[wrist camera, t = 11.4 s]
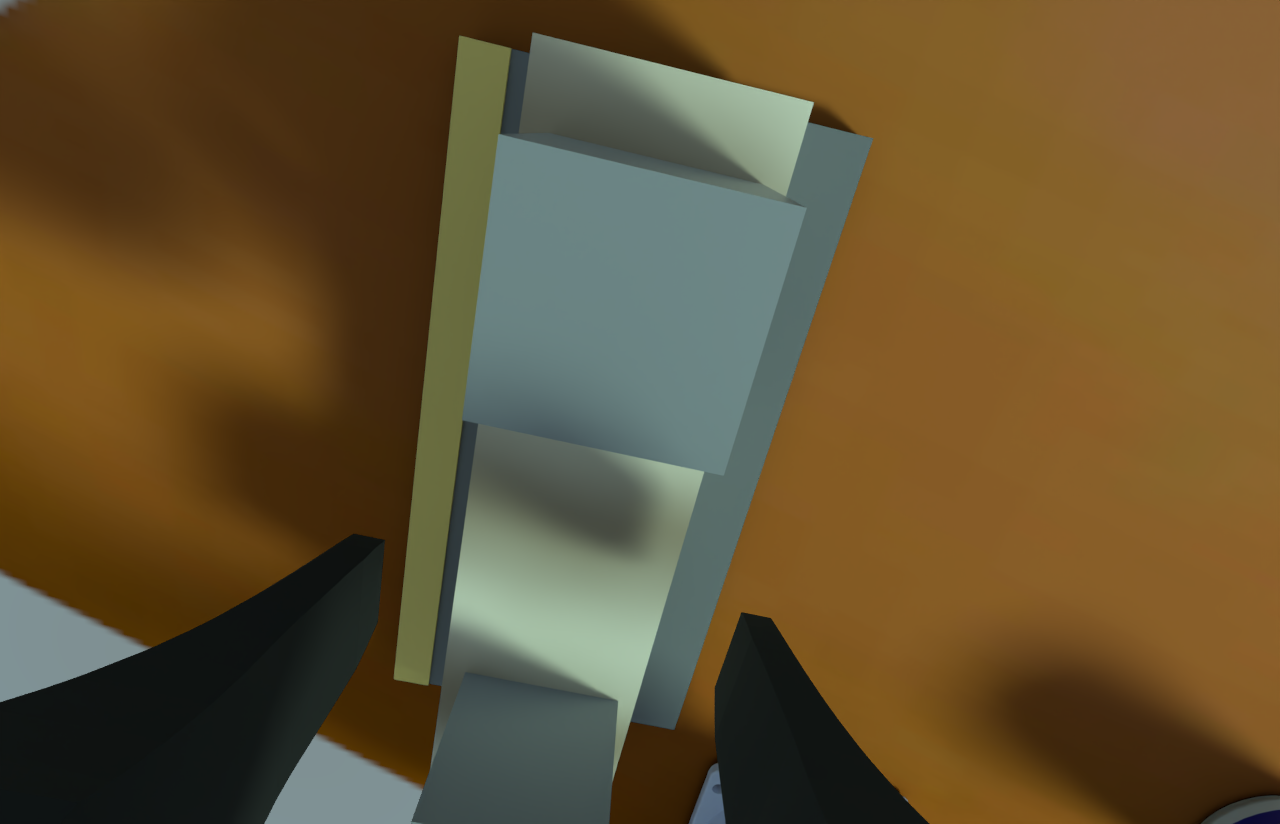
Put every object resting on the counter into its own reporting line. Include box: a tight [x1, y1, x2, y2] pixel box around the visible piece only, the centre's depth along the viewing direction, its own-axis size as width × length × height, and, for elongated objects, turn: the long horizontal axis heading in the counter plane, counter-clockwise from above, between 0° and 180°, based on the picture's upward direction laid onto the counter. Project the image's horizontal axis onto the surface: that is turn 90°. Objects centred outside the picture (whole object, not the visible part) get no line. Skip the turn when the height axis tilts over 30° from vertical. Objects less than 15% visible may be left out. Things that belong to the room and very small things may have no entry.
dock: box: [394, 35, 873, 730], centre depth 20 cm, size 20×10×1 cm, turn 167°
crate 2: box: [462, 133, 807, 476], centre depth 11 cm, size 4×4×4 cm
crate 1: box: [411, 672, 618, 824], centre depth 16 cm, size 4×4×4 cm
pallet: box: [430, 33, 814, 781], centre depth 17 cm, size 20×5×4 cm, turn 167°
